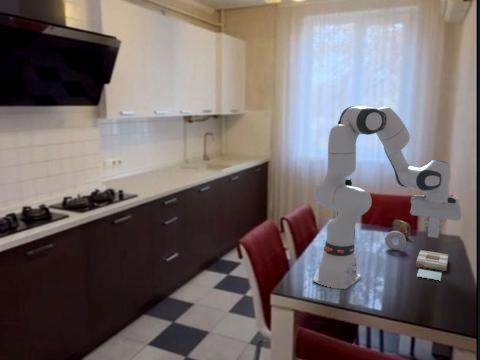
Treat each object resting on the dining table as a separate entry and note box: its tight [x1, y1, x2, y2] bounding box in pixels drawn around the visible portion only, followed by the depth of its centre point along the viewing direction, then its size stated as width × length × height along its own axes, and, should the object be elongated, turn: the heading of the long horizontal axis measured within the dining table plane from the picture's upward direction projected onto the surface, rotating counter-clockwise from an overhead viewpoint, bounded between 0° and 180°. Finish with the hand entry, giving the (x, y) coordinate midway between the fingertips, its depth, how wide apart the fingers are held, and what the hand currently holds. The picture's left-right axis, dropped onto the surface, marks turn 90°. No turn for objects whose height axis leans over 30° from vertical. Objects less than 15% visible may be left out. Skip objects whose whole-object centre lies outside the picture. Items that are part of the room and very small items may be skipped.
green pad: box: [416, 268, 442, 282], centre depth 166 cm, size 9×9×1 cm
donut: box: [384, 230, 407, 251], centre depth 197 cm, size 10×4×10 cm, turn 69°
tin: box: [391, 219, 412, 238], centre depth 222 cm, size 15×3×8 cm, turn 10°
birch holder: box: [415, 249, 449, 272], centre depth 180 cm, size 16×12×3 cm
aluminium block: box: [427, 217, 441, 239], centre depth 173 cm, size 4×4×9 cm
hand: (433, 227), depth 173 cm, fingers closed on aluminium block, 4 cm apart
